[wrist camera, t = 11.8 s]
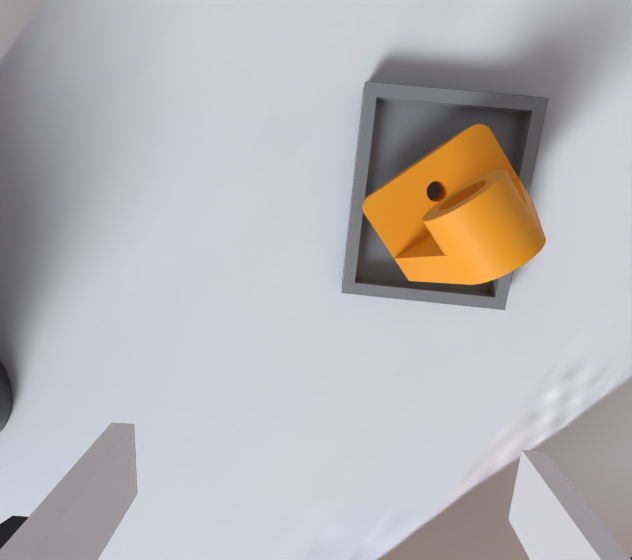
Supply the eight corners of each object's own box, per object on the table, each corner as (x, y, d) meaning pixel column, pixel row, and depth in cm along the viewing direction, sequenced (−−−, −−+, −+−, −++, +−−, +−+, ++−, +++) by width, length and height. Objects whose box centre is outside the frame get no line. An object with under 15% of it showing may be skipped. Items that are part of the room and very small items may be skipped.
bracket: (472, 122, 33) (544, 93, 21) (518, 200, 34) (609, 212, 23) (356, 202, 35) (365, 214, 23) (403, 273, 36) (434, 318, 25)
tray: (341, 285, 39) (341, 292, 37) (363, 88, 35) (365, 81, 33) (494, 301, 39) (504, 310, 36) (533, 103, 35) (548, 97, 32)
